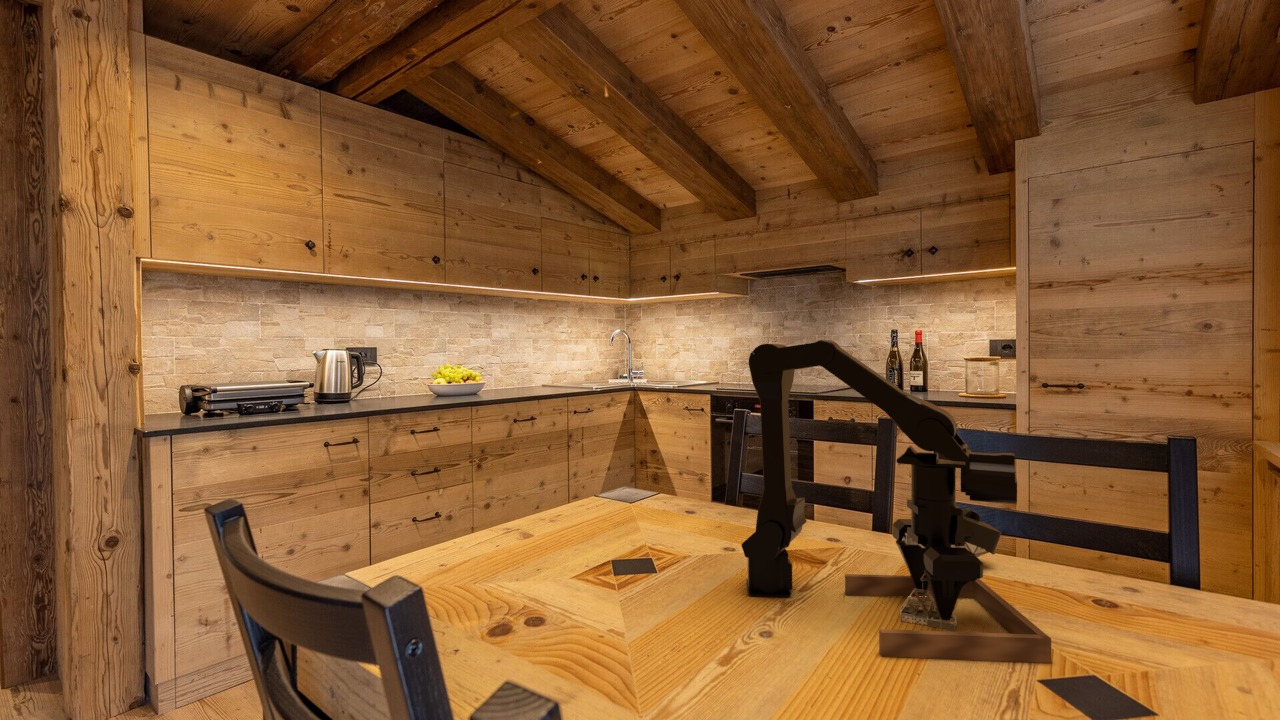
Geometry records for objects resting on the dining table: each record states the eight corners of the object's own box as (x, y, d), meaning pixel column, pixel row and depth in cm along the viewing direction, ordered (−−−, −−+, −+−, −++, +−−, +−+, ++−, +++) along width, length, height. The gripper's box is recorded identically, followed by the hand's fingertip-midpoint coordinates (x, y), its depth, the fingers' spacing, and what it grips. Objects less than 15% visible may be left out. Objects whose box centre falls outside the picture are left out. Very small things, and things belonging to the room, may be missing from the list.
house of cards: (970, 613, 92) (970, 561, 92) (970, 636, 85) (969, 579, 85) (904, 602, 97) (903, 552, 96) (898, 623, 89) (898, 569, 89)
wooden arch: (881, 656, 79) (881, 632, 79) (845, 592, 100) (844, 574, 99) (1051, 663, 76) (1051, 638, 76) (977, 596, 97) (977, 577, 97)
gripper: (1026, 514, 79) (1026, 638, 79) (965, 483, 98) (965, 583, 98) (934, 512, 80) (934, 634, 80) (891, 482, 99) (891, 581, 99)
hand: (933, 605), depth 89 cm, fingers open, 9 cm apart
